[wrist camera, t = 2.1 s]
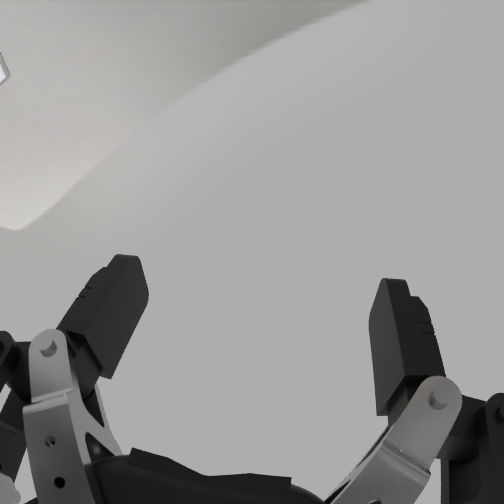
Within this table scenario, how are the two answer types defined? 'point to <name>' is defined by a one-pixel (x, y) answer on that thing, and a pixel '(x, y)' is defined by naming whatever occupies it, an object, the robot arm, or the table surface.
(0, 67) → the external hard drive
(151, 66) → the table surface
